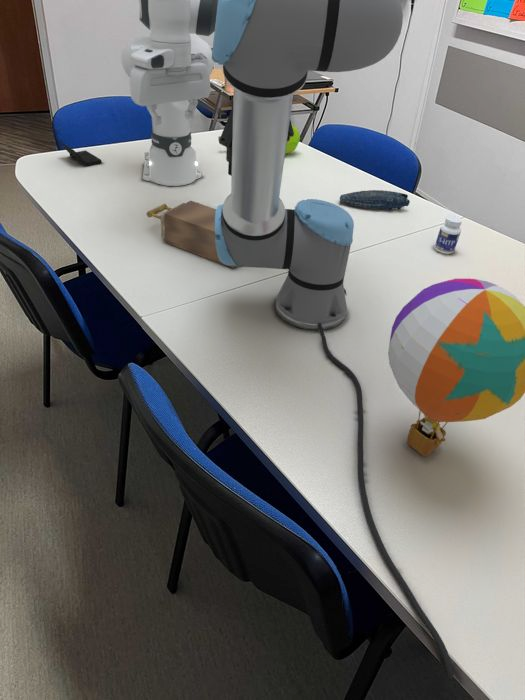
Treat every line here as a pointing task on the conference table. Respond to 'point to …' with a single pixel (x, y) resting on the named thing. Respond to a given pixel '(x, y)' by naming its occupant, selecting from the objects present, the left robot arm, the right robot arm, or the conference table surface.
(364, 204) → the fish model
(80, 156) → the black handled piece
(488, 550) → the conference table surface
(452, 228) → the pill bottle
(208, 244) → the cabinet
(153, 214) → the drawer
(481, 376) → the toy
